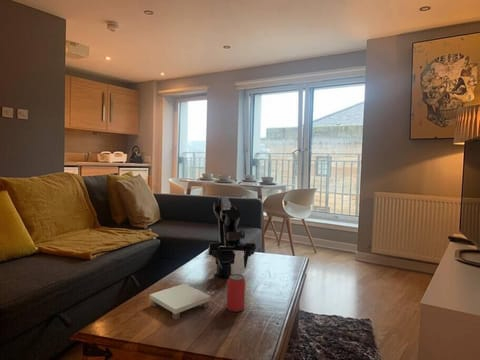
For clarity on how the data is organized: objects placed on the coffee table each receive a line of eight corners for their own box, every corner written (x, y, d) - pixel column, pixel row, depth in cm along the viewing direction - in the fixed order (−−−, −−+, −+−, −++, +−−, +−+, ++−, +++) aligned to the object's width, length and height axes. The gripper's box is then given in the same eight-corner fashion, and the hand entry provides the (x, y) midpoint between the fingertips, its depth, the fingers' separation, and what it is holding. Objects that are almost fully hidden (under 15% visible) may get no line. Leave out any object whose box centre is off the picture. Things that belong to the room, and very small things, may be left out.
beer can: (242, 313, 118) (243, 280, 117) (224, 311, 119) (225, 278, 118) (245, 305, 124) (247, 274, 124) (228, 303, 126) (230, 272, 125)
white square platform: (149, 304, 121) (149, 294, 121) (184, 293, 133) (184, 283, 133) (175, 320, 111) (175, 309, 110) (210, 306, 122) (211, 296, 122)
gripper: (210, 222, 130) (211, 258, 120) (256, 223, 134) (261, 257, 123) (207, 237, 138) (209, 272, 128) (251, 237, 142) (255, 271, 132)
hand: (233, 268), depth 128 cm, fingers open, 9 cm apart
